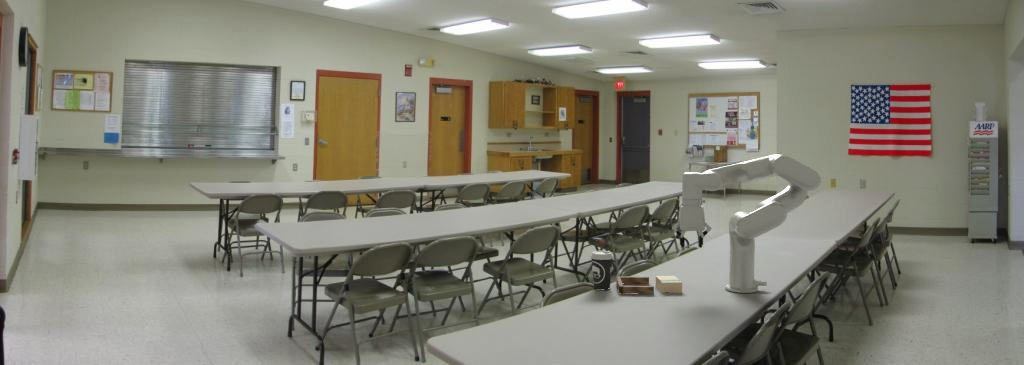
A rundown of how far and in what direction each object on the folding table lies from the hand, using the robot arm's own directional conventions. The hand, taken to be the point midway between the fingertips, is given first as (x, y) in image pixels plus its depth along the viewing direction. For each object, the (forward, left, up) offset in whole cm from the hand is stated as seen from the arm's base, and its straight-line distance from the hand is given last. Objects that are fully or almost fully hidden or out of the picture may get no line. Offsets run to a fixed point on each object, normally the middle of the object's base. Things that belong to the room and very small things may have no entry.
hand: (691, 246), depth 266 cm
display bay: (+22, 0, -18) cm, 28 cm away
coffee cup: (+36, 0, -18) cm, 40 cm away
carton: (+9, 0, -18) cm, 20 cm away
